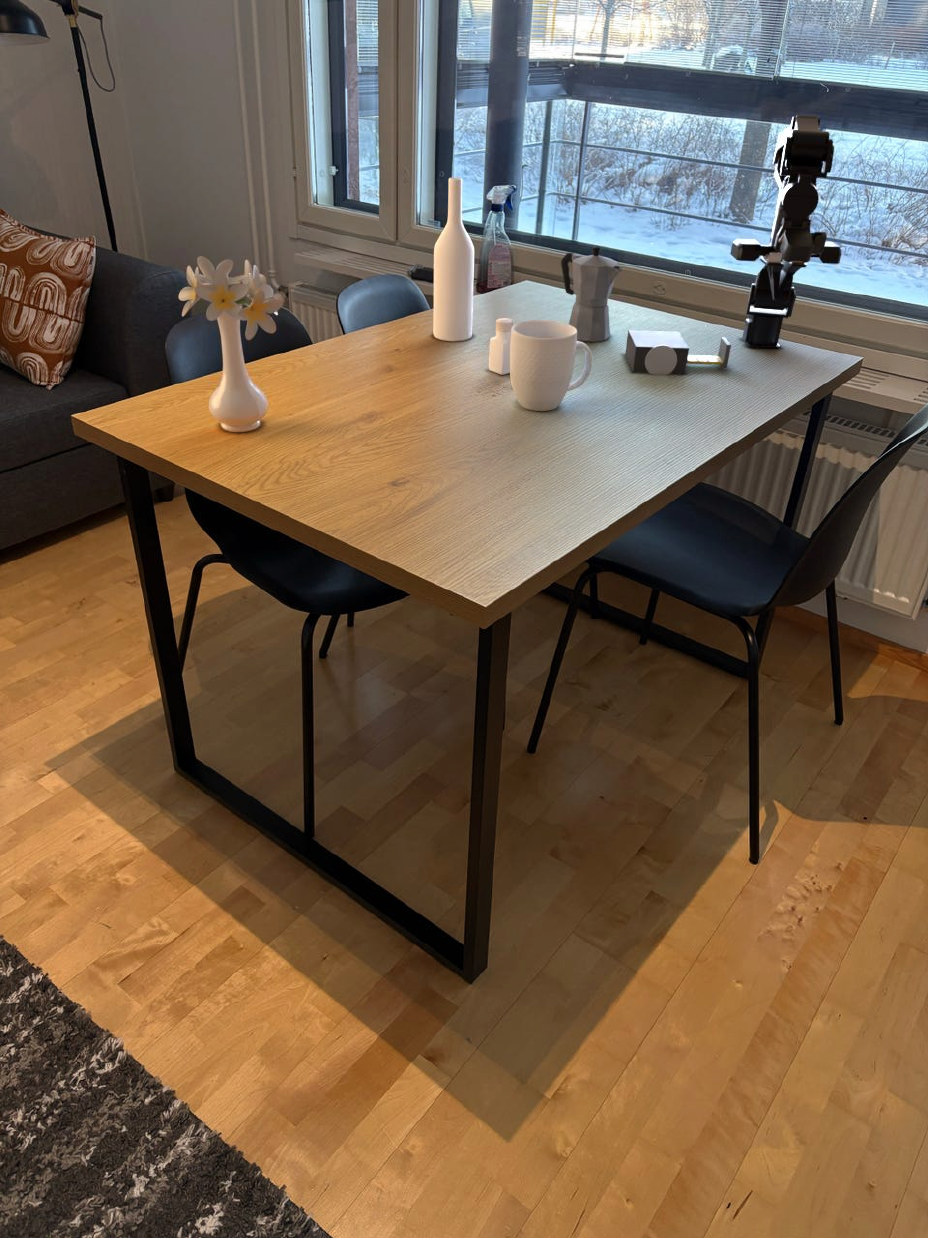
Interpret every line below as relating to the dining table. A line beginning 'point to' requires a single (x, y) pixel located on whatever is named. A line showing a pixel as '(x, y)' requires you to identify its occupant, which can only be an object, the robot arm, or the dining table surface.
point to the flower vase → (234, 336)
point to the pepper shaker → (501, 347)
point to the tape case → (656, 352)
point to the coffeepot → (590, 293)
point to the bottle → (453, 273)
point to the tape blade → (719, 359)
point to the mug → (544, 363)
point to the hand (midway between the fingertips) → (775, 299)
